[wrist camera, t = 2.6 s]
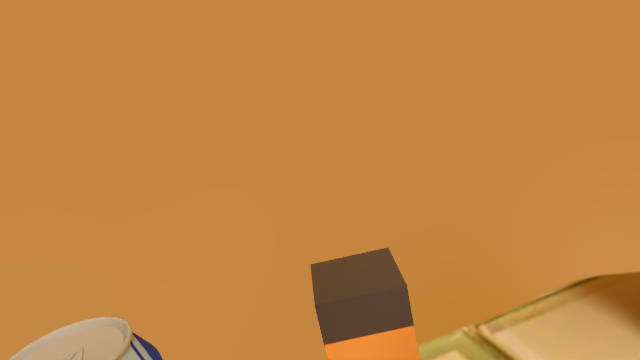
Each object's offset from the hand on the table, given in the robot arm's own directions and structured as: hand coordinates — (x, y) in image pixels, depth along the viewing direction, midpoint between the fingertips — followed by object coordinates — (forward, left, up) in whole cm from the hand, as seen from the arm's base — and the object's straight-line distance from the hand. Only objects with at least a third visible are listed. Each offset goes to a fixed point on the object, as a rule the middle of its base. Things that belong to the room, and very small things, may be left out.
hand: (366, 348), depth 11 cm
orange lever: (-1, -11, -19) cm, 22 cm away
